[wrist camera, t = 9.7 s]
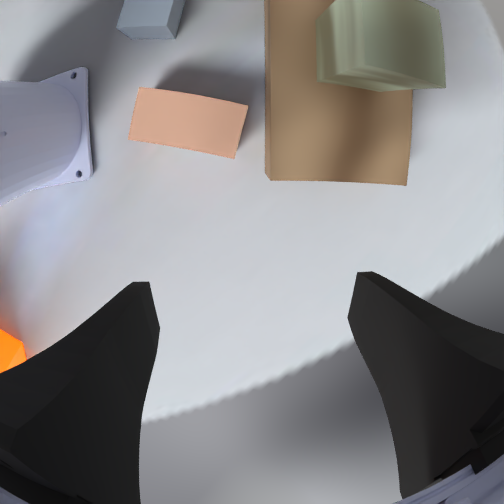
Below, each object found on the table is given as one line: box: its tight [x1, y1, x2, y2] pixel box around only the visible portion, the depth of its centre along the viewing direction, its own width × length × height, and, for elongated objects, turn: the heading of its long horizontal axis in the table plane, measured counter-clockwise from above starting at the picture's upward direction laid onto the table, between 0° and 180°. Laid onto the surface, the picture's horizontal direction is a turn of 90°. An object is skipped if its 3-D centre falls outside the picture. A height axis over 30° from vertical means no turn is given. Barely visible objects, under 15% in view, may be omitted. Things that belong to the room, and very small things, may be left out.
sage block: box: [315, 0, 446, 92], centre depth 10 cm, size 4×4×6 cm
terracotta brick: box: [128, 87, 248, 159], centre depth 15 cm, size 6×3×3 cm, turn 75°
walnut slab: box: [264, 0, 413, 186], centre depth 14 cm, size 9×15×2 cm, turn 0°
